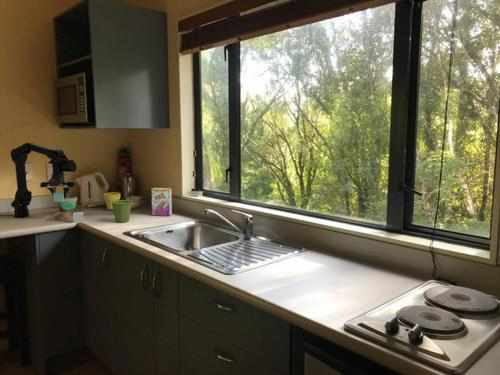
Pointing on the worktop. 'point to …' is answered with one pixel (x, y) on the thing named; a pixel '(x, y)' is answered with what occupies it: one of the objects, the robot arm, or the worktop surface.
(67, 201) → the food container
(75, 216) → the grey cube
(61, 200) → the teal cube
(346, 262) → the worktop surface
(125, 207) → the plant pot
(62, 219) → the walnut block
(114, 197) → the plant pot
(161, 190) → the candy bar box
